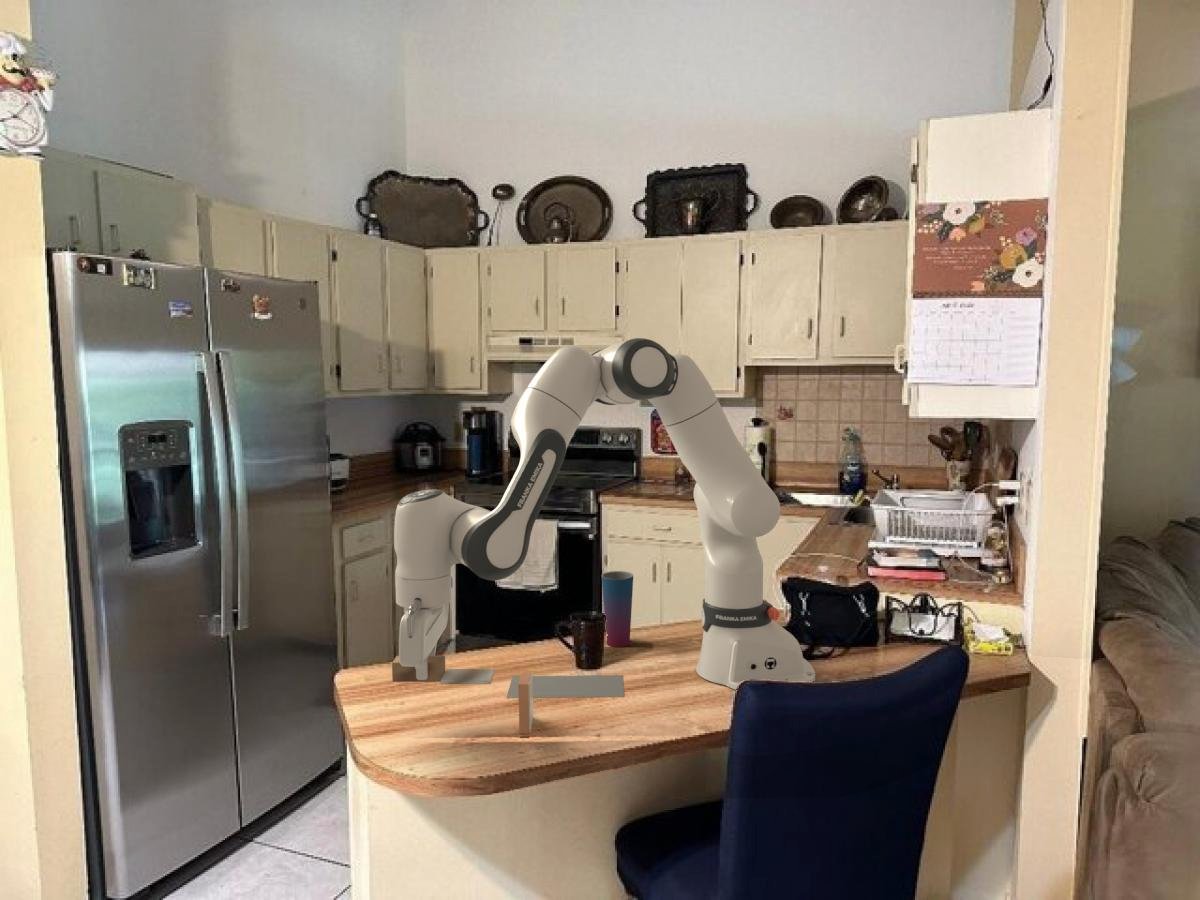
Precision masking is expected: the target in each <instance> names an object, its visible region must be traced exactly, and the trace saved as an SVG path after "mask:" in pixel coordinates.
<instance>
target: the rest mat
mask: <svg viewBox="0 0 1200 900" xmlns="http://www.w3.org/2000/svg"><path fill="white" fill-rule="evenodd" d="M520 676H521V675H513V676H512V677H511V680H510V684H509V687H508V691H507V695H506V699H519V693H518V684H519V680H520ZM624 689H625V687H624V676H623V674H619V675H618V674H617V675H616V674H614V675H613V674H610V675H606V674H605V675H601V674H600V675H599V674H598V675H597V674H596V675H533V699H534V698H535V699H536V698H537V699H538V698H541V699H542V698H544V699H545V698H547V699H548V698H551V699H552V698H553V699H554V698H555V699H556V698H561V699H562V698H624V697H625V690H624Z"/></svg>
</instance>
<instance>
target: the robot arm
mask: <svg viewBox="0 0 1200 900" xmlns="http://www.w3.org/2000/svg"><path fill="white" fill-rule="evenodd" d="M639 401H648V402H649V403H650V404H651V405H652V406H653V407H654V408H655V410H656V412H657V414H658V416H659V419H660V420H661V423H662V425H663V427H664V429H665V430H666V433H667V434H668V436H669V439H670V441H671V443H672V445H673V447H674V449H675V451H676V453H677V455H678V457H679V459H680V460H681V462H682V465H684V467H686V469H687V470H688V472H689V474H690V475H691V476H692V477H693V479H694V481H695V482H696V483H695V485H694V488H693V500H694V504H695V506H696V511H697V517H698V525H699V531H700V539H701V545H702V551H703V559H704V598H703V599H702V606H701V625H702V629H703V632H702V633H703V634H702V642H701V647H700V653H699V658H698V661H697V664H696V667H695V671H696V674H698V675H699V676H700V677H701V678H703V679H704V680H707V681H708V682H709V681H710V682H712V683H714V684H719V685H723V686H727V687H728V688H731V689H733V690H735V691H737V690H736V688H737V686H738V684H739V683H740V682H741V681H743V680H747V679H770V680H785V681H814V682H815V681H816V671H815V669H814V667H813V665H812V664H811V663H810V662H809V661H808V660H807V659H805V658H804V656H803V652H802V648H801V645H800V643H799V641H798V639H796V638H795V637H796V636H794V635H793V634H792V633H791V632H789V631H787V630H786V629H785V628H784V627H782V626H781V625H780V624H778V623H777V620H779V618H780V616H781V613H780V612H779V610H778V609H777V607H774V606H773V604H771V603H769V602H768V600H767V599H764V560H763V557H762V555H761V552H760V550H759V546H758V541H757V538H758V537H762V536H765V535H767V534H768V533H770V532H771V531H773V529H774V528H776V526H777V524H778V522H779V520H780V516H781V504H780V501H779V498H778V496H777V495H776V493H775V492H774V491H773V490H772V488H771V487H770V486H769V484H768V483H767V482H766V481H765V479H764V477H763V476H762V474H761V472H760V471H759V469H758V467H757V466H756V465H755V463H754V461H753V460H752V458H751V457H750V454H749V453H748V452H747V451H746V449H745V448H744V447H743V445H742V444H741V442H740V441H739V439H738V438H737V436H736V434H735V432H734V430H733V428H732V425H731V424H730V422H729V420H728V417H727V416H726V413H725V412H724V410H723V407H722V405H721V404H720V402H719V399H718V397H717V395H716V393H715V392H714V389H713V388H712V386H711V384H710V382H709V381H708V379H707V377H706V376H705V375H704V373H703V372H702V370H701V369H700V368H699V366H698V365H697V364H696V363H695V360H693V359H692V358H691V357H690V356H688V355H686V354H671V353H669V352H668V351H667V350H666V349H665V347H664V346H662V345H661V344H660V343H658V342H656V341H655V340H651V339H648V338H641V337H637V338H631V339H629V340H623V341H617V342H615V343H613V344H610V345H608V347H607V346H606V347H605V348H603V349H599V350H597V351H595V352H593V353H592V354H591V353H590V352H588V351H586V350H585V349H583V348H581V347H577V346H569V345H567V346H563V347H560V348H558V349H557V350H556V351H554V353H553V354H552V355H550V357H549V358H548V359H547V360H546V361H545V363H544V364H543V365H542V366H541V368H539V370H538V371H537V372H536V373H535V375H534V377H533V378H532V379H531V380H530V382H529V384H528V385H527V387H526V389H524V391H523V393H522V394H521V396H520V398H519V400H518V402H517V404H516V405H515V408H514V410H513V413H512V415H511V418H510V426H511V432H512V435H513V438H514V439H515V441H516V442H517V444H518V447H519V450H520V457H519V458H520V459H519V464H518V465H517V468H516V470H515V472H514V474H513V476H512V478H511V480H510V482H509V483H508V486H507V488H506V489H505V491H504V493H503V496H502V498H501V499H500V502H499V503H498V505H497V506H496V507H495V508H494V509H493V510H489V509H486V508H485V507H481V506H477V505H474V504H469V503H466V502H463V501H462V500H461V501H460V500H459V499H456V498H454V497H453V496H451V495H449V494H447V493H446V492H444V491H443V489H442V490H441V489H436V488H434V489H433V488H431V489H421V490H419V491H414V492H411V493H409V494H406V495H405V496H403V497H402V498H401V499H400V500H399V502H397V505H396V509H395V515H394V516H395V517H394V527H393V528H394V530H393V533H394V535H393V536H394V537H393V543H394V544H393V545H394V547H393V548H394V552H395V555H396V557H397V558H396V559H397V562H396V568H395V572H394V576H395V577H394V581H395V603H396V605H397V606H400V607H401V608H403V613H404V614H403V615H402V617H401V619H400V623H399V638H398V645H399V646H398V648H399V649H398V656H399V660H400V664H401V666H404V667H415V669H416V678H417V679H418V680H426V679H427V678H428V676H429V666H428V661H427V659H428V656H436V649H437V642H438V641H439V639H440V638H441V635H442V634H443V632H444V631H445V629H446V628H447V625H448V621H449V607H450V602H451V601H452V588H453V585H454V584H453V582H454V581H453V576H452V567H453V566H454V565H457V564H462V565H464V566H466V568H468V569H469V570H470V571H472V573H474V574H475V575H476V576H477V577H479V578H481V579H483V580H487V581H500V580H505V579H507V578H508V577H510V576H512V575H513V574H514V573H516V572H517V571H518V570H519V569H520V568H521V566H522V565H523V563H524V562H525V559H526V558H527V554H528V551H529V546H530V542H531V541H530V540H531V535H532V531H533V527H534V524H535V523H536V521H537V518H538V516H539V515H540V513H541V510H542V508H543V506H544V504H545V501H546V500H547V498H548V495H549V493H550V492H551V489H552V487H553V485H554V483H555V480H556V479H557V477H558V475H559V472H560V470H561V467H562V465H563V463H564V460H565V457H566V453H567V449H568V446H569V444H570V442H571V439H573V436H574V434H575V433H576V431H577V429H578V427H579V425H580V424H581V422H582V420H583V419H584V417H585V415H586V413H587V412H588V410H589V408H590V407H591V406H592V405H593V403H594V402H597V403H599V404H603V405H606V406H615V405H631V404H634V403H637V402H639Z"/></svg>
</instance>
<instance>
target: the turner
mask: <svg viewBox="0 0 1200 900" xmlns="http://www.w3.org/2000/svg"><path fill="white" fill-rule="evenodd" d="M427 661H428V666H429V676H428V678H427V679H426V680H418V679H417V678H416V669H415V667H404V666H401V664H400V660H399V655H396V656H395V658H394V659H393V661H392V662H391V670H392V671H391V674H392V676H391V677H392V683H393V682H394V683H400V682H401V683H404V682H405V683H420V682H421V683H425V682H426V683H432V682H433V683H434V682H435V683H436V682H437V683H438V682H439V683H440V685H491V684H492V681H493V678H494V675H495V671H496V670H495V668H446V656H445V655H435V656H428V659H427Z"/></svg>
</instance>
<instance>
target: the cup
mask: <svg viewBox="0 0 1200 900" xmlns="http://www.w3.org/2000/svg"><path fill="white" fill-rule="evenodd" d="M601 585H602V586H601V588H602V589H601V590H602V600H603V601H602V602H603V613H604V614H603V615H605V616H606V620H607V622H606V630H607V634H608V636H607V642H606V641H605V643H607V644H606V645H607V646H609V647H612V648H623V647H628V646H629V645H630V644H629V643H630V641H631V628H632V624H631V623H632V607H633V606H632V605H633V591H634V589H633V588H634V587H633V586H634V573H632V572H630V571H623V570H611V571H606V572H604V573H602V574H601Z"/></svg>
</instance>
